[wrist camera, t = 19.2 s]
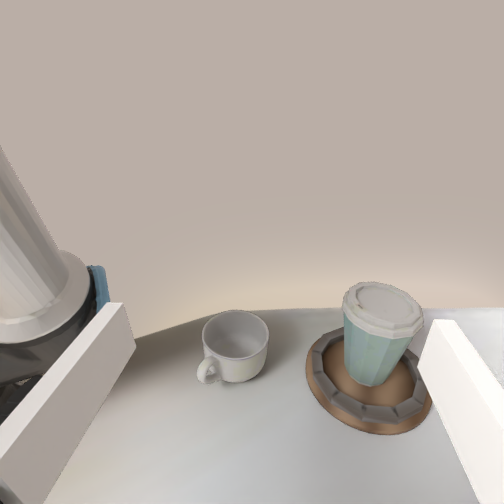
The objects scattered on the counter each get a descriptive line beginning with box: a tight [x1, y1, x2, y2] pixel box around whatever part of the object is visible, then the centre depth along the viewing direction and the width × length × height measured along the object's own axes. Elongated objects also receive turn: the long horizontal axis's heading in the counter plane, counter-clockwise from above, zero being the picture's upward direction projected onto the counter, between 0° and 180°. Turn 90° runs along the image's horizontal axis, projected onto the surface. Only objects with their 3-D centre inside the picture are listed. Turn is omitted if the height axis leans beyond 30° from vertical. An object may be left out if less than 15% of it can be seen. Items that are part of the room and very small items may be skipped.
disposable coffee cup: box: [342, 282, 424, 387], centre depth 44 cm, size 11×11×15 cm
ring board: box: [306, 327, 432, 435], centre depth 48 cm, size 19×19×2 cm
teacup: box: [197, 310, 269, 384], centre depth 48 cm, size 14×11×8 cm
